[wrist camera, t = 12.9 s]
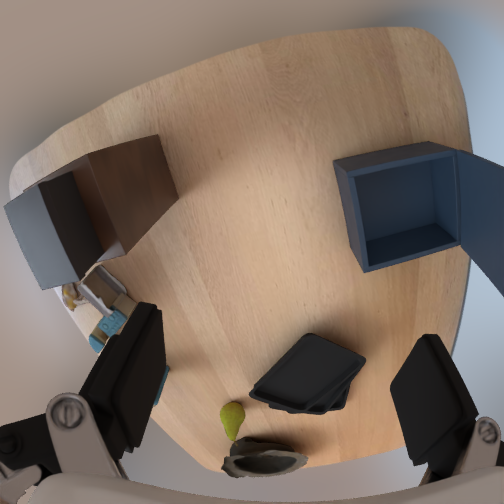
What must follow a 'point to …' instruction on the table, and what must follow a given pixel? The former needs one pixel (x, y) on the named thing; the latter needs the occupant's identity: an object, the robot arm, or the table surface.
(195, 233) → the table surface
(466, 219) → the box lid
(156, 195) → the stand
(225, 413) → the fruit
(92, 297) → the decorative sculpture
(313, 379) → the tray
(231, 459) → the stone bowl
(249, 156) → the table surface
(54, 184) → the dark grey rectangular block
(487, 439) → the robot arm
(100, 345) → the toy kitchen set
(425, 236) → the storage box
